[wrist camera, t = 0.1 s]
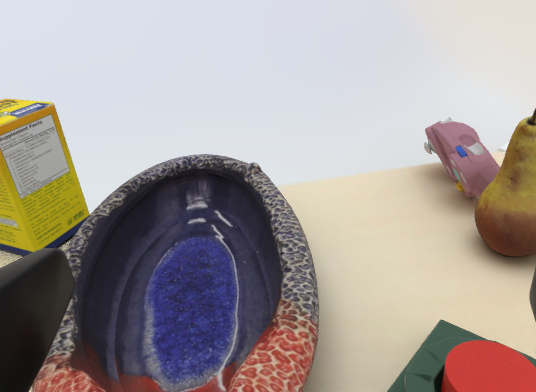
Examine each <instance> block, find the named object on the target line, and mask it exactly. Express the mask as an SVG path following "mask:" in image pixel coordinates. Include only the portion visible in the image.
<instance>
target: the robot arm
mask: <svg viewBox="0 0 536 392" xmlns="http://www.w3.org/2000/svg"><path fill="white" fill-rule="evenodd" d="M74 291H75V279H74V276H73V273H72V271H71V268H70V265H69V262H68V259H67V257H66V254H65V252H64V251H63V250H61V249H55V248H43V249H39V250H37V251H35V252H33V253H31V254H29V255H27V256H25V257H22V258H20V259H18V260H16V261H14V262H12V263H10V264H8V265H6V266H4V267H2V268H0V392H29V390H30V388H31V386H32V384H33V382H34V381H35V379H36V377H37V375H38V373H39V371H40V370H41V368H42V366H43V364H44V362H45V360H46V358H47V355H48V353H49V351H50V349H51V347H52V344H53V342H54V339H55V337H56V335H57V332H58V330H59V327H60V325H61V323H62V320H63V318H64V316H65V313H66V311H67V308H68V306H69V304H70V301H71V299H72V296H73V294H74ZM529 296H530V304H531V308H532V311H533V314H534V318H535V321H536V268H535V272H534V276H533V280H532V284H531V288H530V295H529Z"/></svg>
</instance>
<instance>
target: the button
mask: <svg viewBox="0 0 536 392" xmlns="http://www.w3.org/2000/svg"><path fill="white" fill-rule="evenodd" d="M441 392H536V367H535V366H534V365H533V364H532V363H531V362H530V361H529V360H528V359H527V358H526V357H524V356H523V355H521V354H520V353H519V352H517V351H515V350H513V349H511V348H509V347H507V346H504V345H502V344H499V343H495V342H491V341H481V340H476V341H468V342H464V343H461V344H459V345H457V346H456V347H454V348H453V349H452V350H451V351H450V352H449V354H448V355H447V357H446V361H445V367H444V374H443V380H442V387H441Z"/></svg>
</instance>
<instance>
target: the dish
mask: <svg viewBox="0 0 536 392" xmlns="http://www.w3.org/2000/svg"><path fill="white" fill-rule="evenodd" d="M65 254H66V257H67V259H68V262H69V265H70V268H71V271H72V273H73V276H74V279H75V291H74V294H73V296H72V299H71V301H70V304H69V306H68V308H67V311H66V313H65V316H64V318H63V320H62V323H61V325H60V327H59V330H58V332H57V335H56V337H55V339H54V342H53V344H52V347H51V349H50V351H49V353H48V355H47V358H46V360H45V362H44V364H43V366H42V368H41V370H40V371H39V373H38V375H37V377H36V379H35V381H34V382H33V384H32V388H33V392H302V391H303V389H304V386H305V383H306V381H307V378H308V375H309V373H310V370H311V367H312V363H313V359H314V354H315V349H316V345H317V340H318V320H319V302H318V291H317V280H316V275H315V270H314V265H313V259H312V255H311V252H310V249H309V246H308V242H307V239H306V236H305V234H304V232H303V230H302V227H301V225H300V223H299V220H298V219H297V217H296V215H295V213H294V212H293V210H292V208H291V206H290V205H289V204H288V202H287V201H286V199H285V198H284V197H283V195H282V194H281V193H280V191H279V190H278V189H277V188H276V186H275V185H274V184H273V183H272V181H271V180H270V179H269V177H268V176H267V175H266V174H265V173H264V172H263V171H262V170H261V168H260V166H259V165H258V164H257V163H251V164H248V163H245V162H242V161H239V160H236V159H233V158H229V157H225V156H219V155H208V154H202V155H190V156H184V157H179V158H175V159H171V160H168V161H166V162H163V163H160V164H157V165H155V166H153V167H151V168H149V169H147V170H145V171H143V172H141V173H140V174H138V175H136V176H135V177H133V178H132V179H130V180H128V181H127V182H126V183H124V184H123V185H122V186H120V187H119V188H118V189H117V190H115V191H114V192H113V193H112V194H110V196H108V197H107V198H106V199H105V200H104V201H103V202H102V203H101V204H100V205H99V206H98V207H97V208H96V209H95V210H94V211H93V212H92V214H91V215H90V216H89V217H88V218H87V220H86V221H85V222H84V223H83V224H82V226H81V227H80V229H79V230H78V232H77V233H76V234H75V236H74V237H73V239H72V240H71V242H70V244H69V245H68V247H67V249H66V251H65Z"/></svg>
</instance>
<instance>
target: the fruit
mask: <svg viewBox="0 0 536 392" xmlns="http://www.w3.org/2000/svg"><path fill="white" fill-rule="evenodd" d="M475 221H476V226H477V229H478V231H479V233H480V235H481V237H482V239H483V240H484V241H485V243H486V244H487V245H488V246H489V247H490V248H492V249H493V250H495V251H496V252H498V253H501V254H503V255H507V256H526V255H532V254H536V109H535V111H534V113H533V116H531V117H528V118H525V119H523V120H522V121H521V122H520V123H519V124H518V126H517V127H516V129H515V131H514V133H513V135H512V137H511V139H510V142H509V145H508V148H507V150H506V154H505V157H504V160H503V163H502V165H501V168H500V169H499V171H498V173H497V175H496V177H495V178H494V180H493V181H492V182H491V183H490V184H489V185H488V186H487V187H486V189H485V190H484V191H483V193H482V194H481V196H480V198H479V200H478V202H477V205H476V209H475Z"/></svg>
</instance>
